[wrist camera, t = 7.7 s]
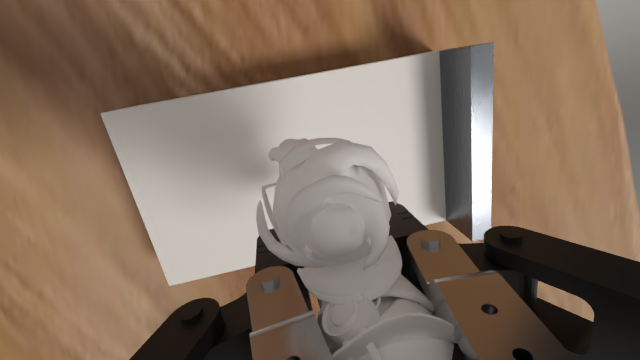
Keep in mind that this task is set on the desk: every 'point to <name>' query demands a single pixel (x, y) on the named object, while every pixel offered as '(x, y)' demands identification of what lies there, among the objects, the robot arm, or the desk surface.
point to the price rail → (467, 136)
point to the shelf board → (256, 142)
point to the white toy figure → (349, 251)
